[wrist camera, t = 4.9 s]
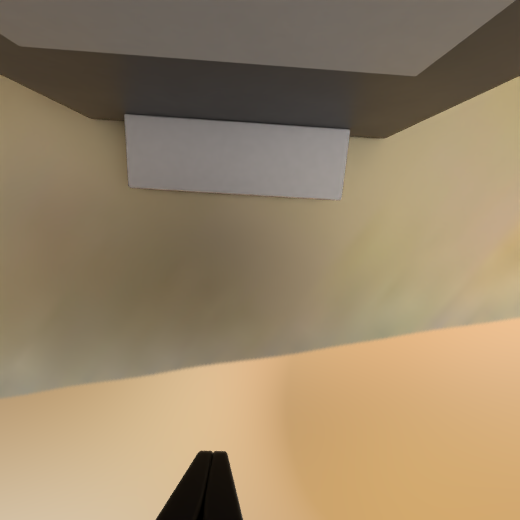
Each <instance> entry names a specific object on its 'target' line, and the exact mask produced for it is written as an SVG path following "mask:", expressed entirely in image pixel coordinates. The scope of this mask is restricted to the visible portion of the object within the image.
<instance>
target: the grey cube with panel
mask: <svg viewBox="0 0 520 520" xmlns="http://www.w3.org/2000/svg"><path fill="white" fill-rule="evenodd" d="M0 74H1V75H3V76H5V77H7V78H9V79H11V80H13V81H15V82H17V83H19V84H21V85H23V86H25V87H27V88H29V89H32V90H34V91H36V92H38V93H40V94H42V95H44V96H46V97H48V98H50V99H52V100H54V101H56V102H58V103H60V104H62V105H64V106H66V107H68V108H71V109H73V110H75V111H77V112H79V113H81V114H83V115H85V116H87V117H89V118H92V119H107V120H122V121H125V136H126V153H127V170H128V186H129V187H130V188H139V189H155V190H172V191H188V192H205V193H222V194H239V195H256V196H272V197H289V198H306V199H323V200H341V198H342V191H343V183H344V175H345V167H346V160H347V152H348V144H349V136H358V137H372V138H387V137H389V136H391V135H393V134H395V133H397V132H400V131H402V130H404V129H406V128H408V127H410V126H412V125H415V124H417V123H419V122H421V121H423V120H425V119H428V118H430V117H432V116H434V115H436V114H438V113H440V112H443V111H445V110H447V109H449V108H451V107H453V106H456V105H458V104H460V103H462V102H464V101H466V100H469V99H471V98H473V97H475V96H477V95H479V94H481V93H484V92H486V91H488V90H490V89H492V88H494V87H497V86H499V85H501V84H503V83H505V82H507V81H509V80H512V79H514V78H516V77H518V76H520V0H0Z"/></svg>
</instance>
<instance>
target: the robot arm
mask: <svg viewBox="0 0 520 520" xmlns="http://www.w3.org/2000/svg"><path fill="white" fill-rule="evenodd" d="M156 520H243V518H242V514H241V510H240V505H239V501H238V497H237V493H236V489H235V485H234V480H233V476H232V472H231V468H230V463H229V460H228V455H227V453H226V452H225V451H215V452H214V453H213V452H212V451H200V452H199V453H198V454H197V455H196V457H195V459H194V460H193V462H192V463H191V465H190V467H189V468H188V470H187V471H186V473H185V475H184V476H183V478H182V479H181V481H180V482H179V484H178V485H177V487H176V489H175V490H174V492H173V493H172V495H171V496H170V498H169V500H168V501H167V503H166V504H165V506H164V508H163V509H162V511H161V512H160V514H159V515H158V517H157V519H156Z"/></svg>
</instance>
